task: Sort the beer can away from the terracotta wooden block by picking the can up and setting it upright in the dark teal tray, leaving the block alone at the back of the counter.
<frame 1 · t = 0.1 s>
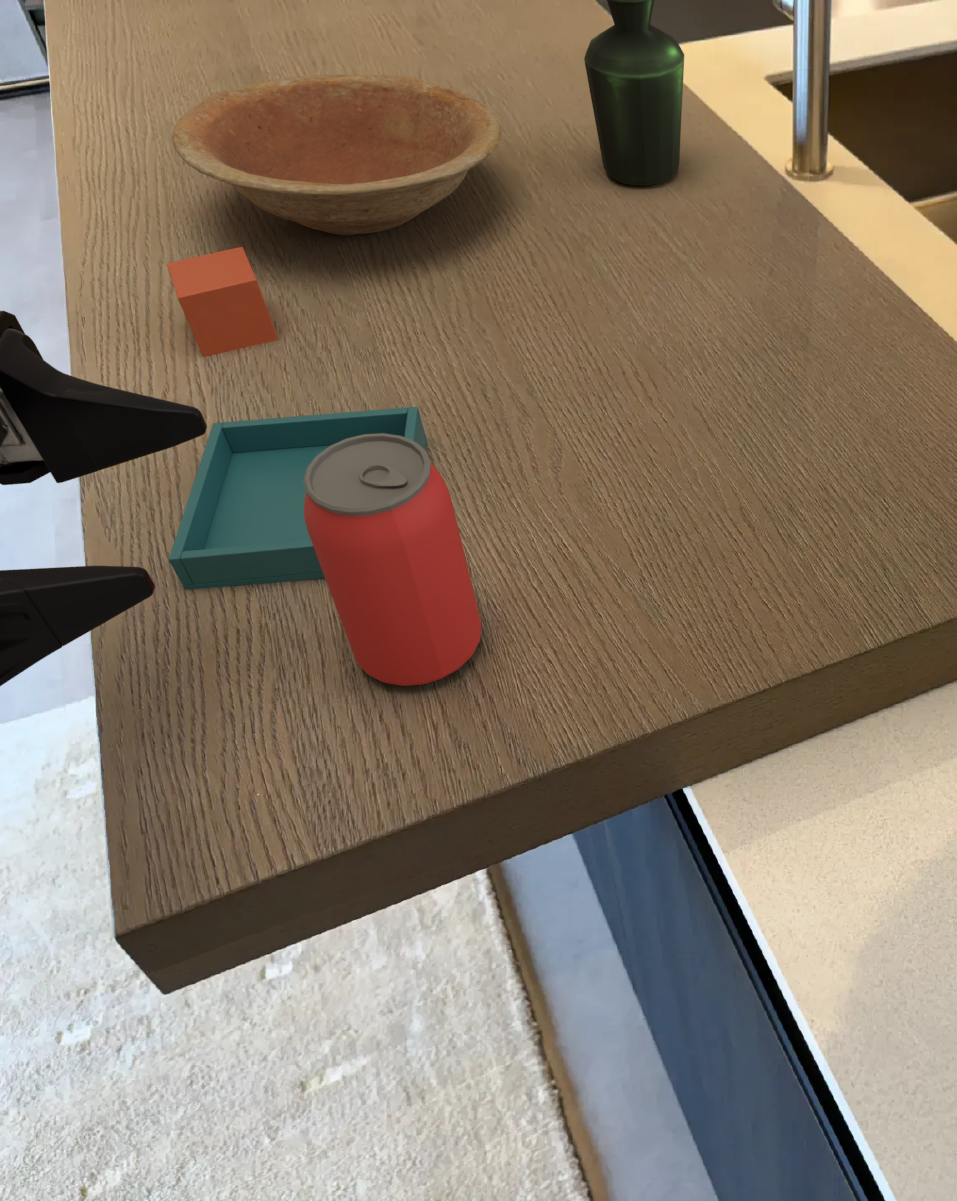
hand: (178, 495, 43), 17 cm above the worktop, tool horizontal, fingers open, 9 cm apart
terracotta block: (236, 334, 80), on the worktop
beer can: (421, 647, 60), on the worktop
potion bottle: (642, 171, 99), on the worktop
bowl: (364, 214, 93), on the worktop
tray: (314, 509, 68), on the worktop
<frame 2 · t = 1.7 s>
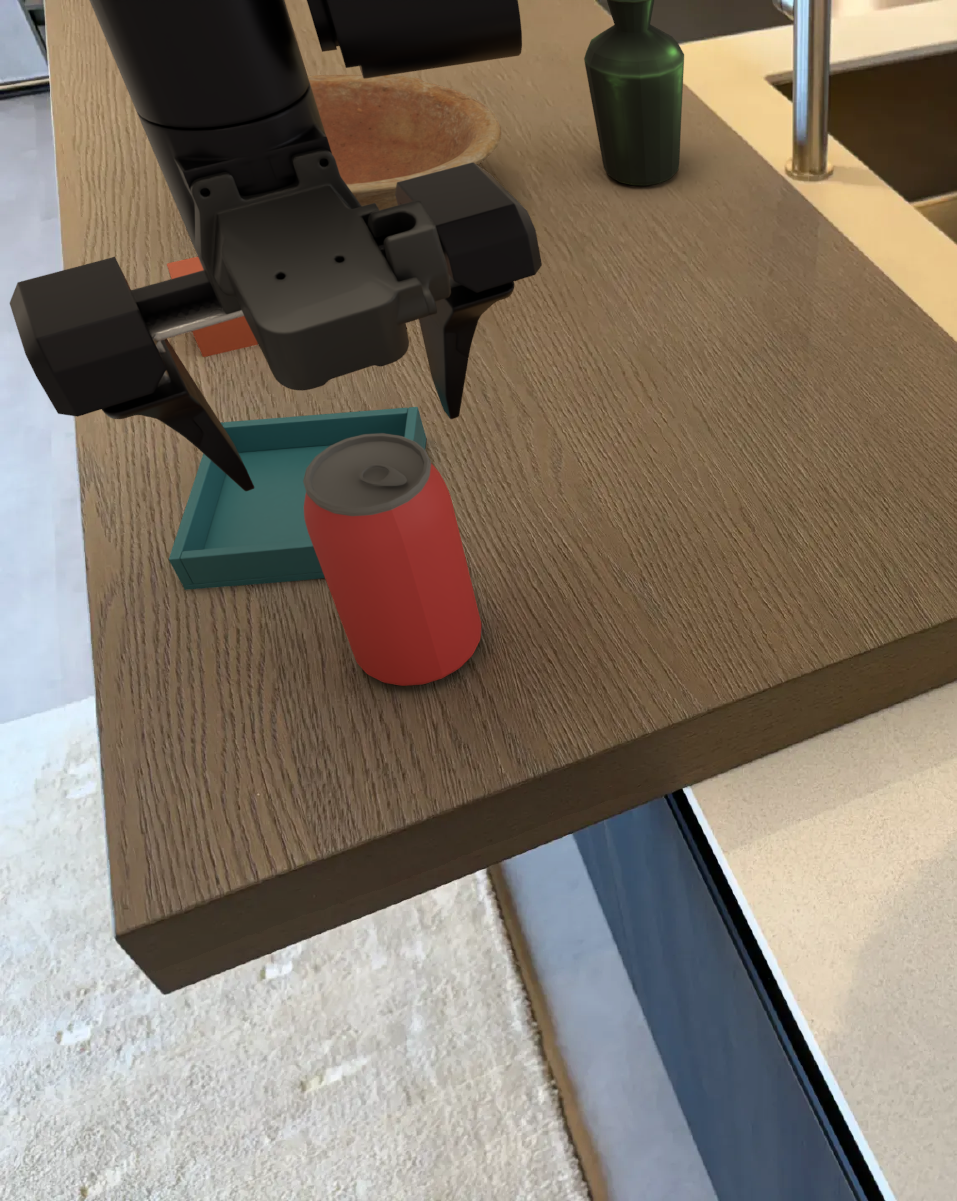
hand: (353, 448, 51), 13 cm above the worktop, tool pointing down, fingers open, 9 cm apart
nothing on the worktop moved.
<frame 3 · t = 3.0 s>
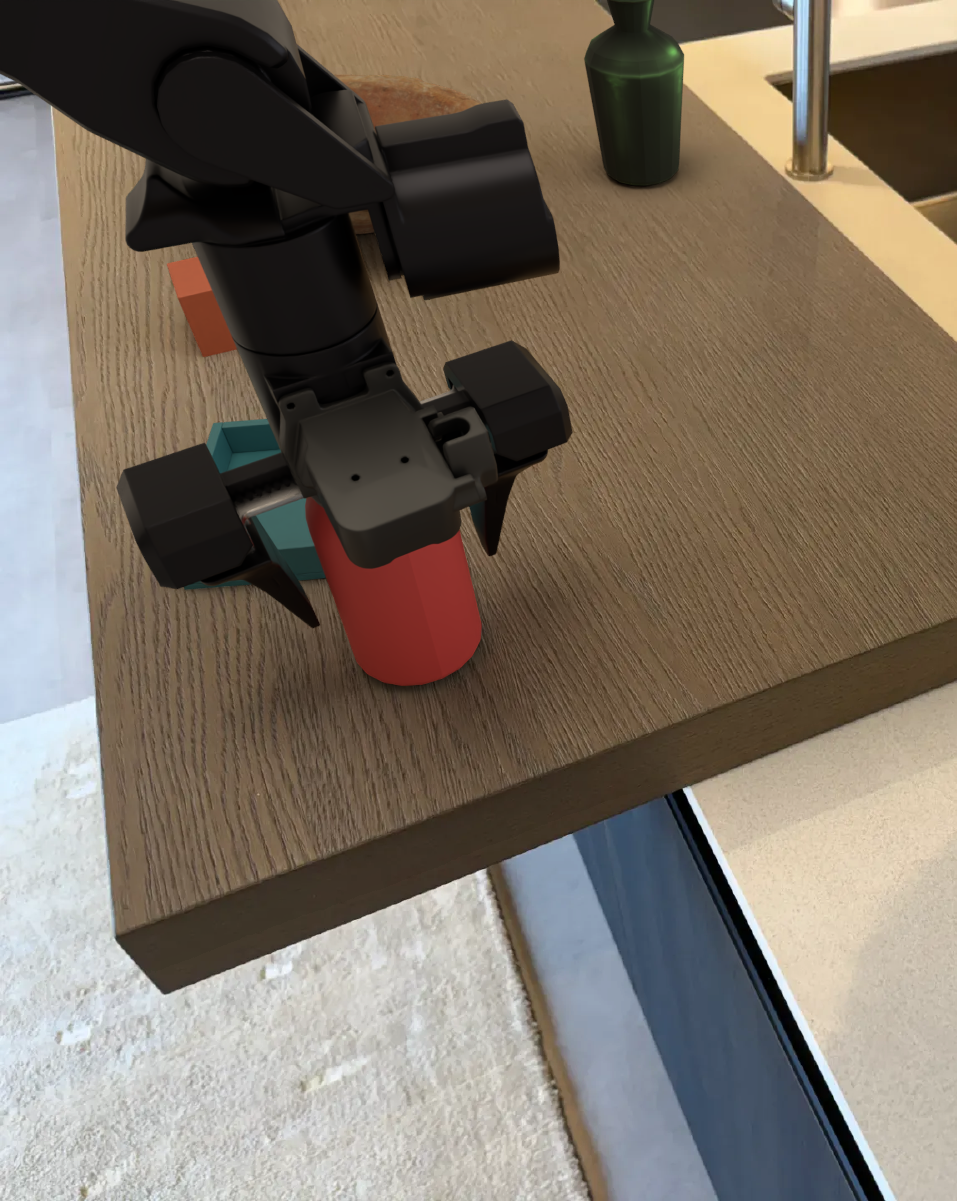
hand: (404, 585, 57), 4 cm above the worktop, tool pointing down
beer can: (421, 647, 60), on the worktop, touching gripper
everything else where it was.
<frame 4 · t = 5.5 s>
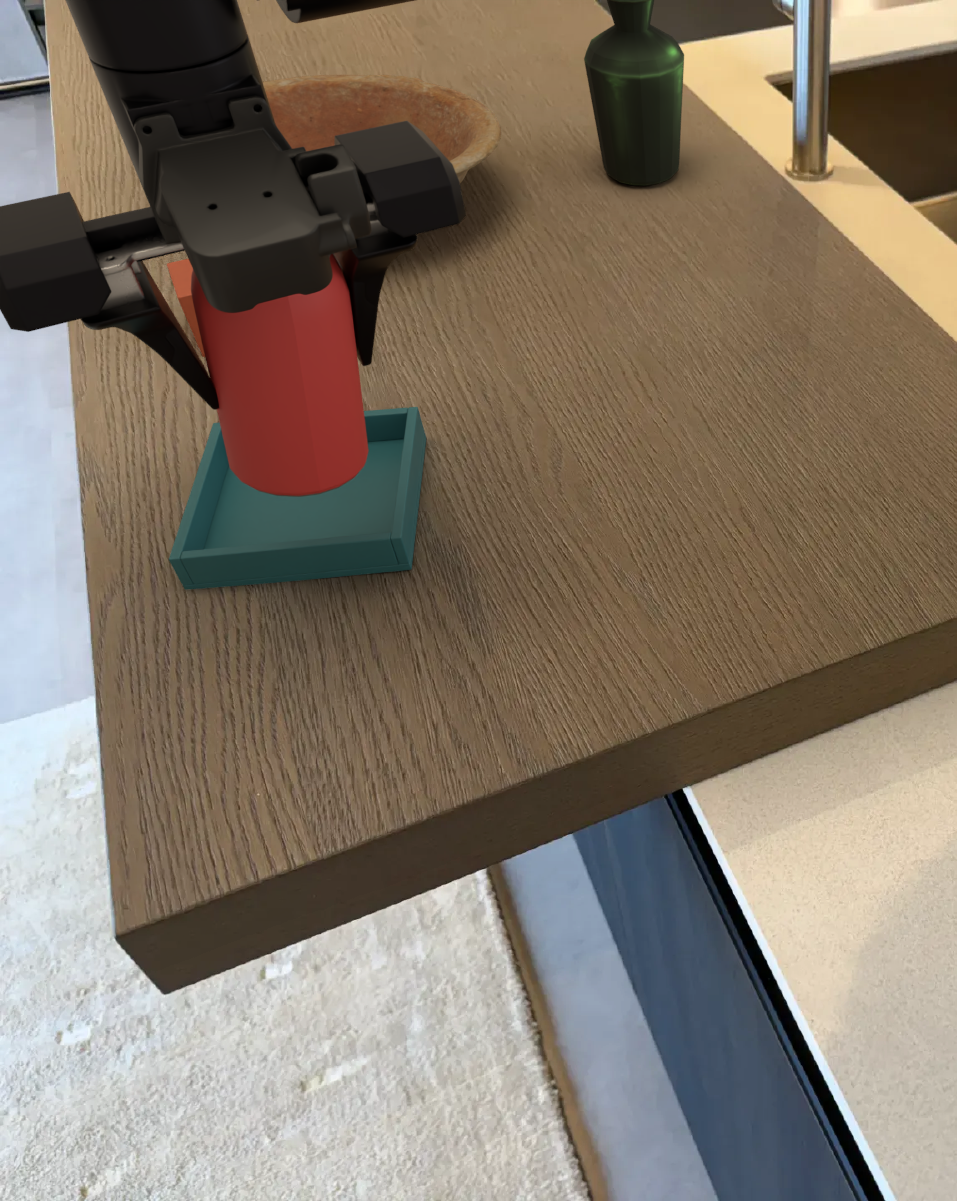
hand: (291, 382, 55), 13 cm above the worktop, tool pointing down, fingers closed on beer can, 7 cm apart
beer can: (301, 467, 58), point 8 cm above the worktop, touching gripper
everything else where it was.
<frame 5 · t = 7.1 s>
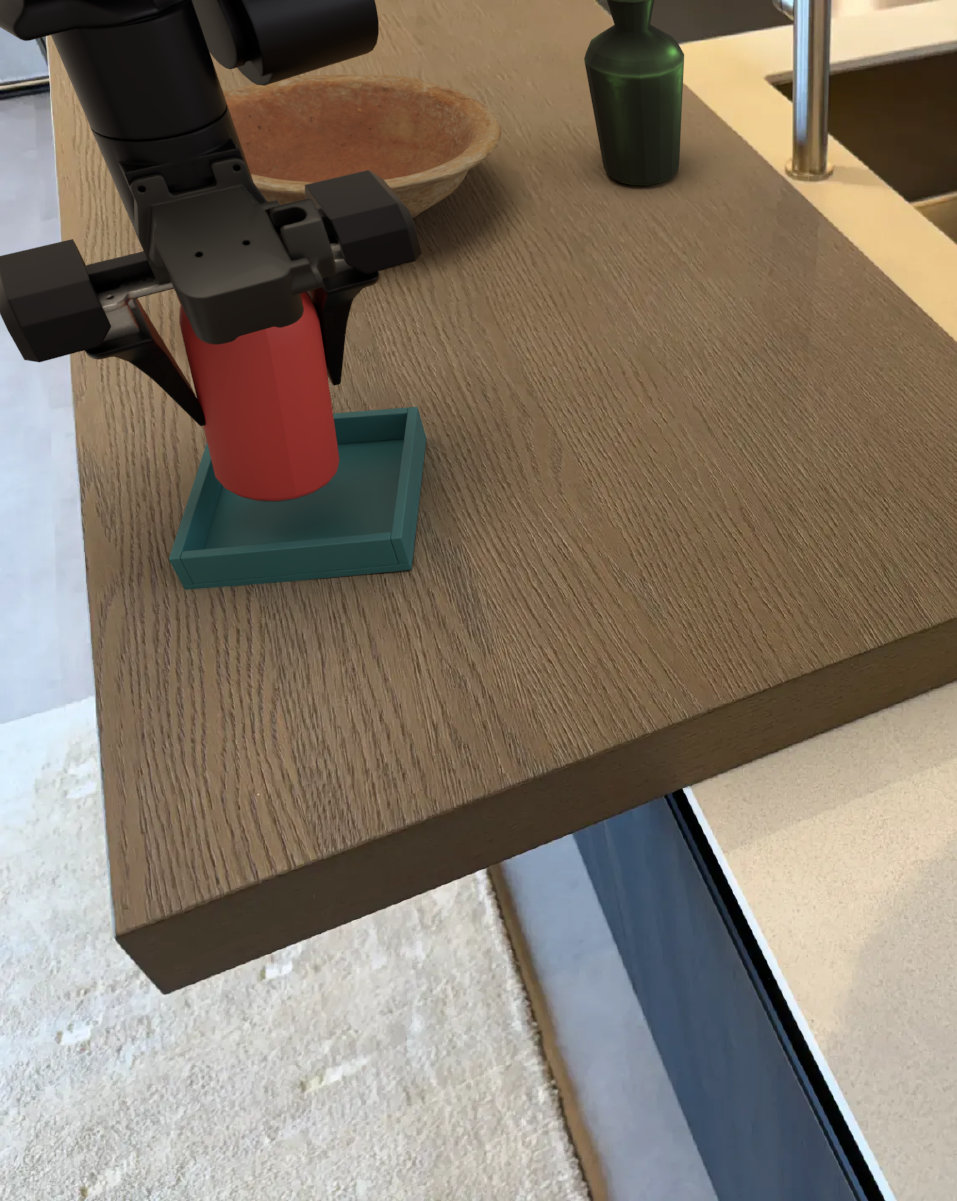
hand: (269, 401, 62), 8 cm above the worktop, tool pointing down, fingers closed on beer can, 7 cm apart
beer can: (279, 475, 65), point 3 cm above the worktop, touching gripper
everything else where it was.
when the fingers open (6 cm above the worktop, at t = 8.2 s): beer can stays where it is, resting on tray.
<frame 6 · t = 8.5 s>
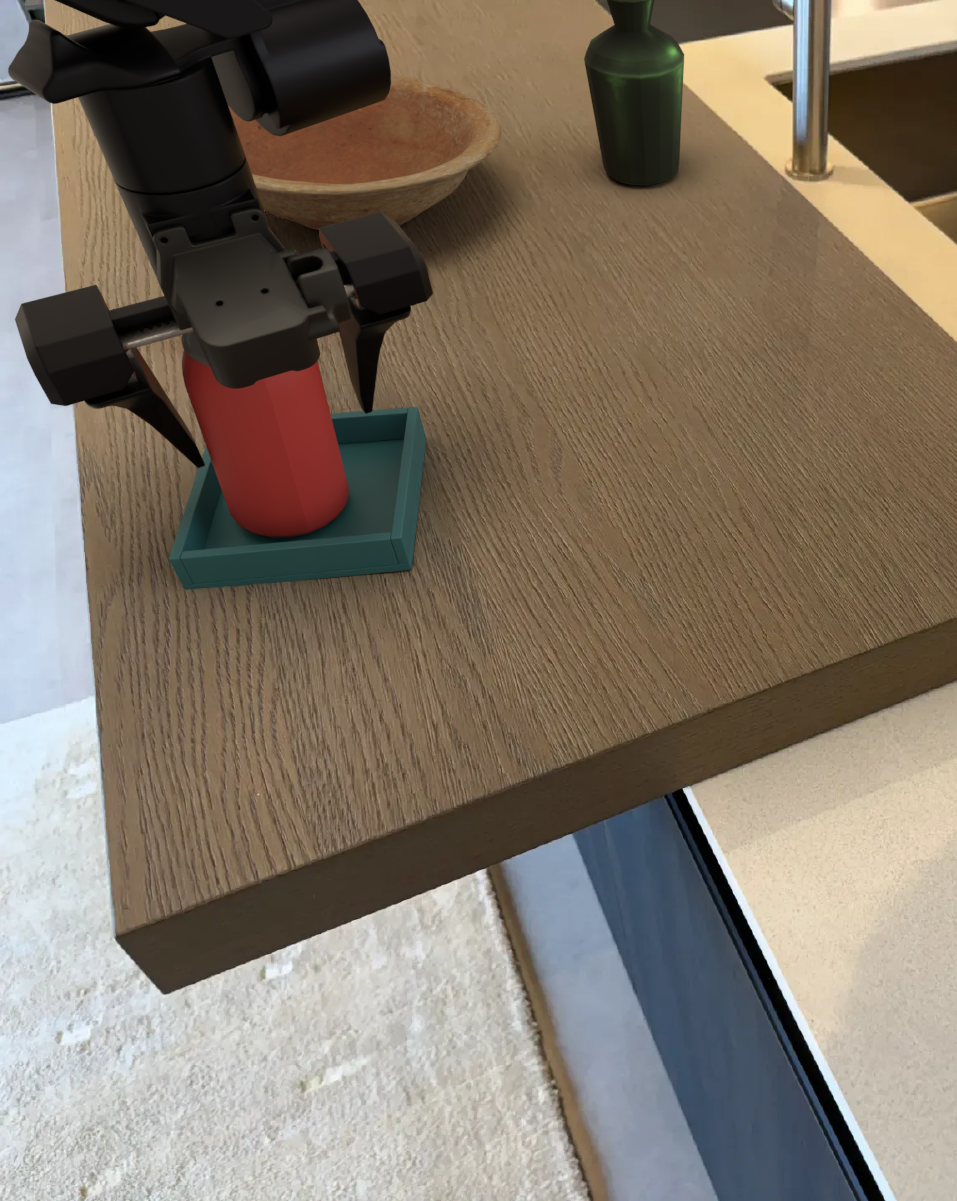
hand: (285, 435, 64), 6 cm above the worktop, tool pointing down, fingers open, 9 cm apart
beer can: (292, 507, 67), point 1 cm above the worktop, touching tray
everything else where it was.
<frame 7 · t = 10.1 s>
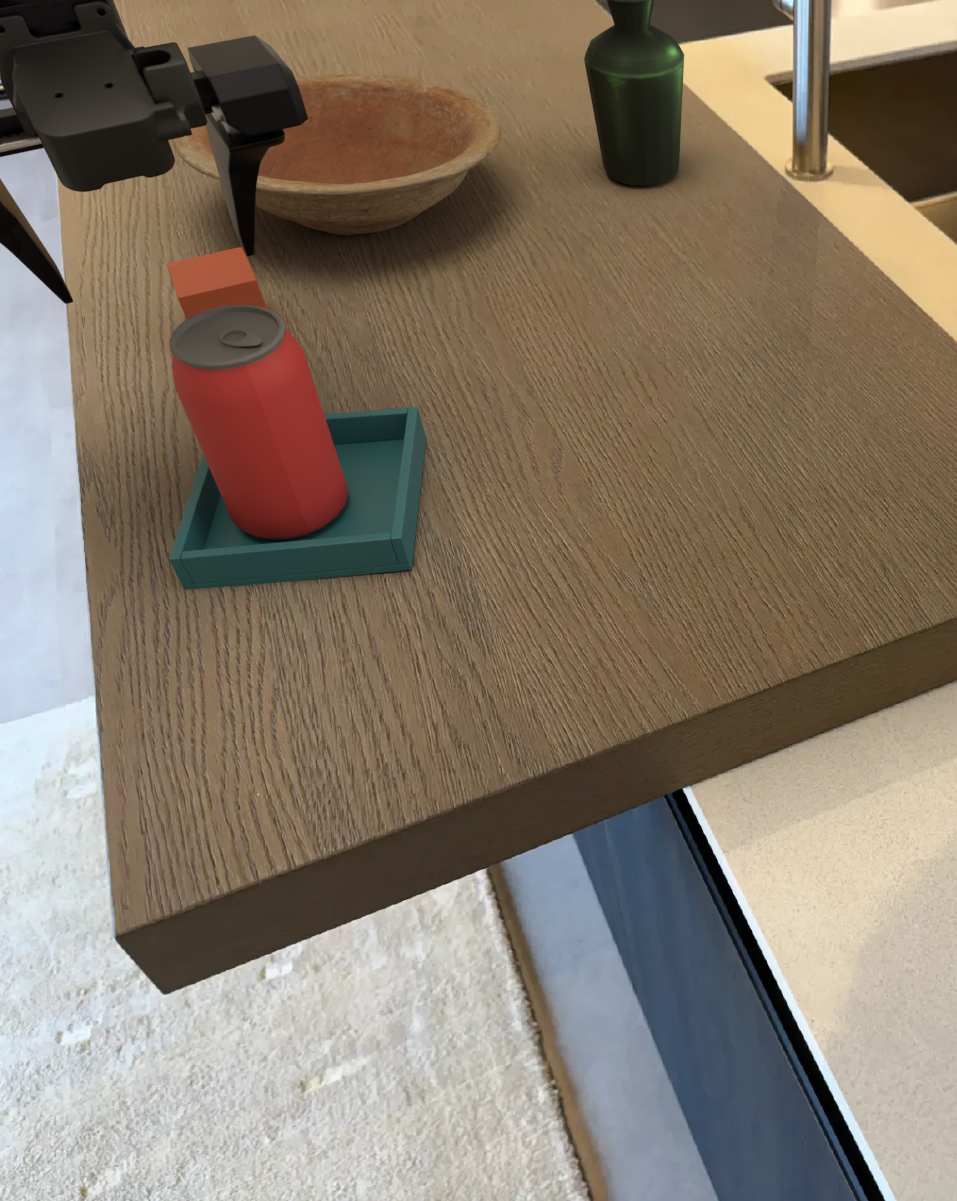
hand: (161, 275, 61), 13 cm above the worktop, tool pointing down, fingers open, 9 cm apart
nothing on the worktop moved.
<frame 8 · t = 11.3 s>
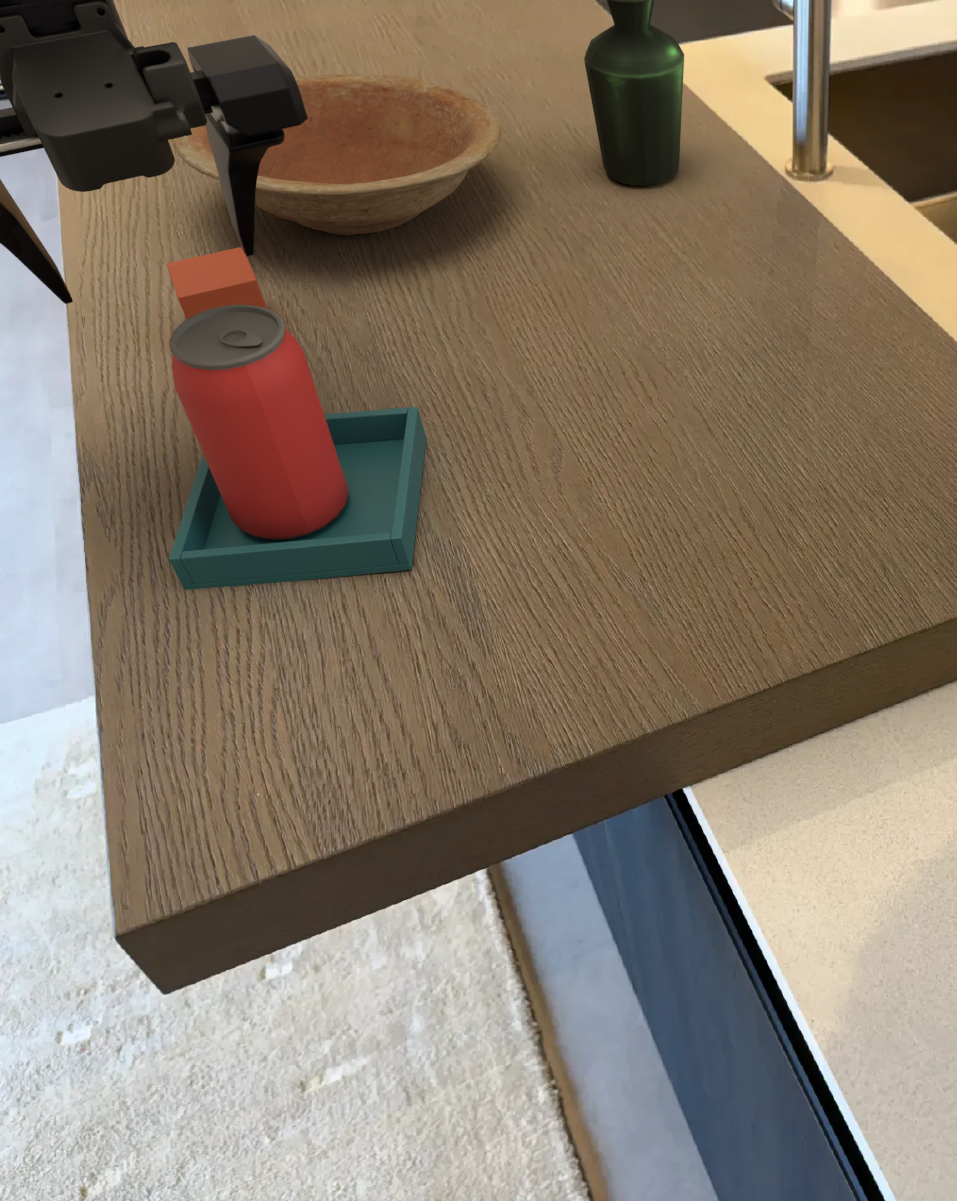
hand: (160, 275, 61), 13 cm above the worktop, tool pointing down, fingers open, 9 cm apart
nothing on the worktop moved.
at the end: beer can inside the target area in the tray (1.1 cm from its centre), point 0.4 cm above the tray's base; beer can tilted 0°; terracotta block moved 0.0 cm from its start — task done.
